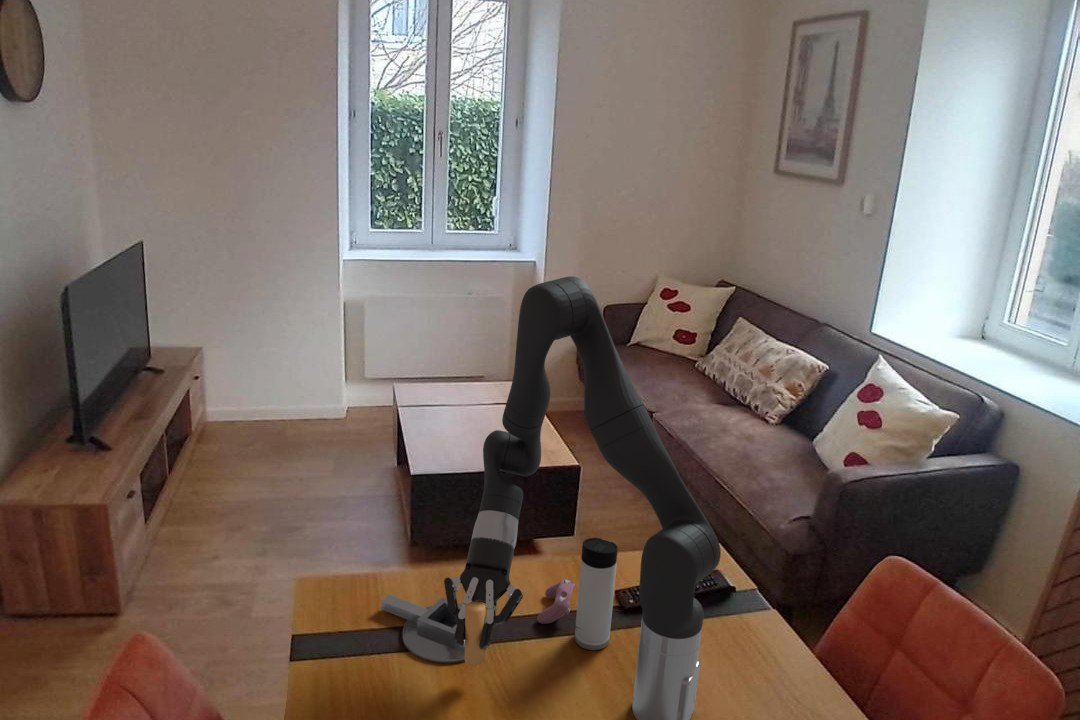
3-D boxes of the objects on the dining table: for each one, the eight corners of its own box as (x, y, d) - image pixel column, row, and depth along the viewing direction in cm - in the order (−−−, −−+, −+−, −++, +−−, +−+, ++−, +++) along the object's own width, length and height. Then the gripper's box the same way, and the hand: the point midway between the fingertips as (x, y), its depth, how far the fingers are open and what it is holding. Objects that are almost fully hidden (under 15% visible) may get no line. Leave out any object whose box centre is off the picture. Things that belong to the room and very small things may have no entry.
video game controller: (555, 634, 152) (574, 608, 149) (534, 621, 152) (553, 595, 149) (563, 604, 161) (581, 579, 159) (543, 592, 161) (561, 566, 159)
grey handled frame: (508, 625, 151) (509, 606, 150) (461, 675, 138) (462, 655, 136) (410, 588, 160) (410, 571, 159) (357, 632, 147) (357, 613, 146)
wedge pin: (487, 657, 136) (489, 605, 133) (477, 668, 133) (478, 615, 130) (471, 651, 137) (472, 599, 134) (460, 661, 135) (461, 609, 132)
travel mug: (567, 644, 147) (575, 545, 141) (583, 625, 153) (591, 529, 146) (599, 656, 144) (609, 556, 138) (614, 636, 150) (624, 539, 144)
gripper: (448, 530, 138) (423, 635, 130) (530, 542, 135) (509, 650, 128) (458, 542, 145) (435, 643, 137) (536, 554, 142) (517, 658, 134)
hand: (471, 646), depth 132 cm, fingers closed on wedge pin, 3 cm apart
